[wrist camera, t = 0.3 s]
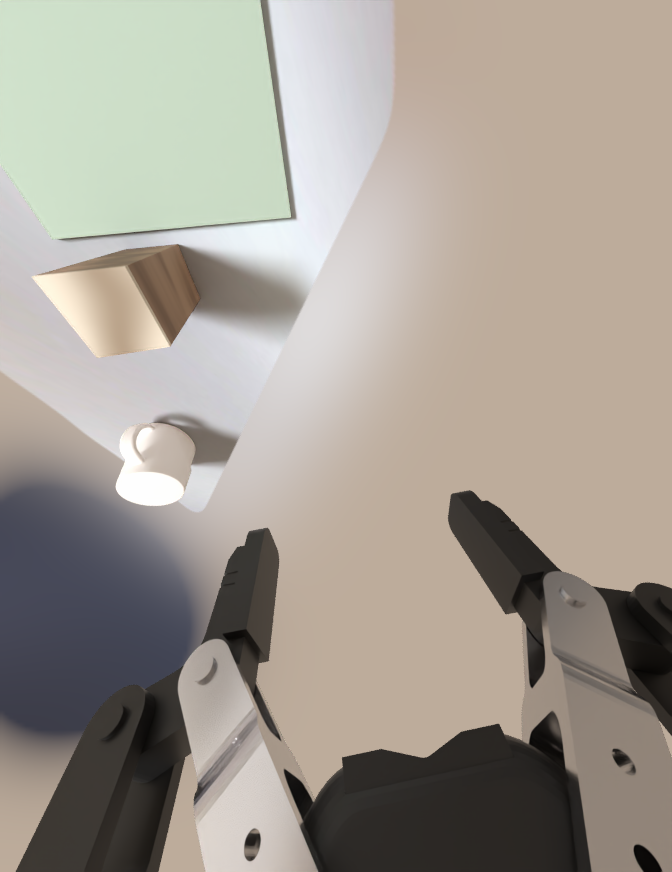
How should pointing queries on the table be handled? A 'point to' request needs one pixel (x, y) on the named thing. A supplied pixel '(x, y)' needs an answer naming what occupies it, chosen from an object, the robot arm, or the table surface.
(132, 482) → the mug
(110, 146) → the felt mat
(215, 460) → the table surface
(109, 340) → the light wood block
